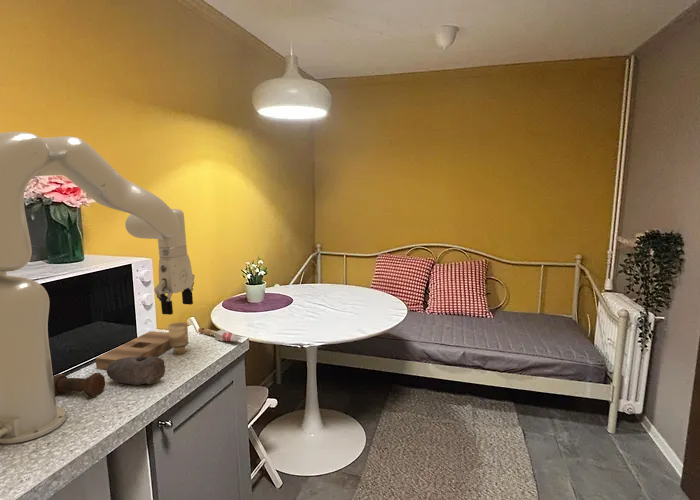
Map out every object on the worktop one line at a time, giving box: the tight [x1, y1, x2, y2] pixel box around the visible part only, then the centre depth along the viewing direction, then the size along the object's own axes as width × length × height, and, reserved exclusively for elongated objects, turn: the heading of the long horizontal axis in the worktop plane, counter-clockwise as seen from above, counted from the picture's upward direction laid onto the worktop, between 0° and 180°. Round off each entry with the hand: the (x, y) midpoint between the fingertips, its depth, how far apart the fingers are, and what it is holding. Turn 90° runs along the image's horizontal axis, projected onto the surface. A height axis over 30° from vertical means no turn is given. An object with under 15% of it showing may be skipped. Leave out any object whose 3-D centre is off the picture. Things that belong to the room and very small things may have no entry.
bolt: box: [53, 372, 106, 399], centre depth 102 cm, size 6×5×15 cm
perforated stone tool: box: [106, 356, 166, 386], centre depth 108 cm, size 15×5×7 cm, turn 81°
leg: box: [167, 321, 190, 355], centre depth 127 cm, size 5×5×8 cm
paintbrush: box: [197, 327, 242, 342], centre depth 139 cm, size 4×3×20 cm
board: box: [95, 330, 174, 371], centre depth 126 cm, size 22×11×3 cm, turn 167°
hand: (178, 308), depth 126 cm, fingers open, 9 cm apart
